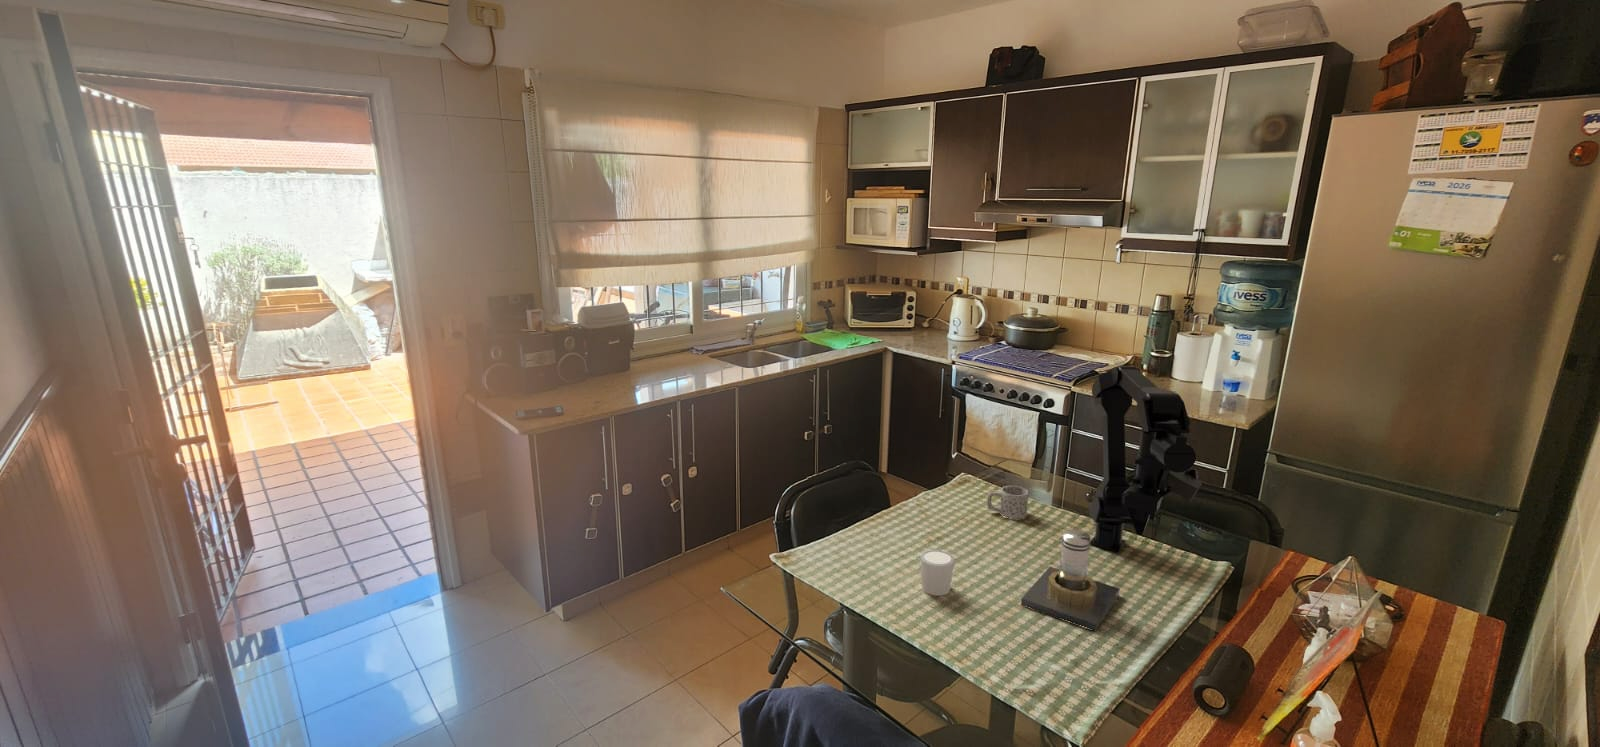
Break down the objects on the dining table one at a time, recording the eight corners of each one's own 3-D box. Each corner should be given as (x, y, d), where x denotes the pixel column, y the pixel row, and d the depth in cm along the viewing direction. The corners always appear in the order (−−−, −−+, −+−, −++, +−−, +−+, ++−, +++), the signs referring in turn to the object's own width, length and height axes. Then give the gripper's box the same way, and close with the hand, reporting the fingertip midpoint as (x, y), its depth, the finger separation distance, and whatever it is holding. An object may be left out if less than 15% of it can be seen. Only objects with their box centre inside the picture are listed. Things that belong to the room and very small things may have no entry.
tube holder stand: (1049, 572, 144) (1050, 555, 143) (1118, 595, 136) (1121, 577, 135) (1021, 605, 132) (1022, 586, 131) (1095, 631, 123) (1097, 612, 123)
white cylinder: (933, 600, 134) (934, 568, 132) (912, 584, 140) (913, 553, 138) (959, 592, 137) (961, 560, 135) (938, 576, 143) (939, 546, 141)
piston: (1055, 585, 136) (1060, 528, 134) (1082, 587, 136) (1087, 530, 133) (1059, 598, 132) (1065, 540, 129) (1087, 601, 131) (1093, 542, 128)
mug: (1025, 510, 175) (1027, 486, 174) (1027, 521, 169) (1029, 496, 168) (985, 507, 178) (987, 483, 176) (986, 517, 171) (988, 493, 170)
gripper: (1191, 477, 121) (1180, 556, 125) (1209, 450, 135) (1198, 522, 139) (1125, 463, 128) (1116, 538, 132) (1148, 439, 142) (1140, 508, 146)
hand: (1145, 526), depth 137 cm, fingers open, 9 cm apart
